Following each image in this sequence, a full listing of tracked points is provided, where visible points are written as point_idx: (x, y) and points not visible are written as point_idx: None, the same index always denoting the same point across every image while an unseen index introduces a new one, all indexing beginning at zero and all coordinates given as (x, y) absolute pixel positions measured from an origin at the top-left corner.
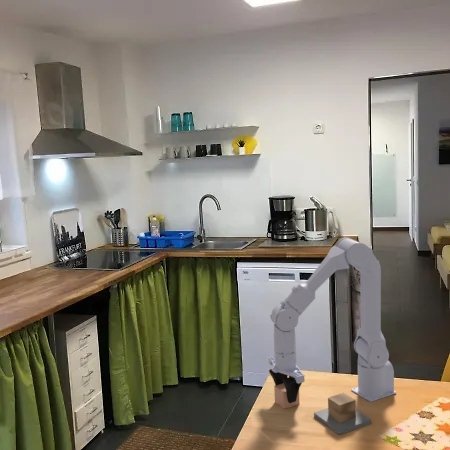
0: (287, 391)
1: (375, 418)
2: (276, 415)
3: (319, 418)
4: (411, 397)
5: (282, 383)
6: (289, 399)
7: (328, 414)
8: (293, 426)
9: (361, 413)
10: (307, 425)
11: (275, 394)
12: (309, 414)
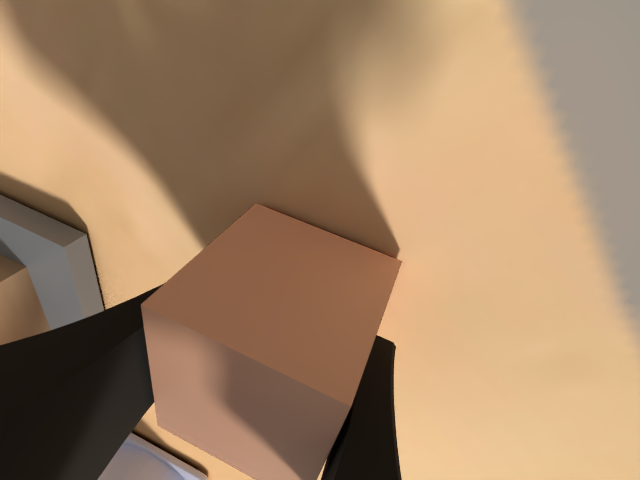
0: (92, 328)
1: None
2: (221, 72)
3: (30, 219)
4: None
5: (326, 471)
6: None
7: (22, 267)
8: (27, 36)
9: None
10: (21, 124)
11: (361, 311)
12: (125, 242)
